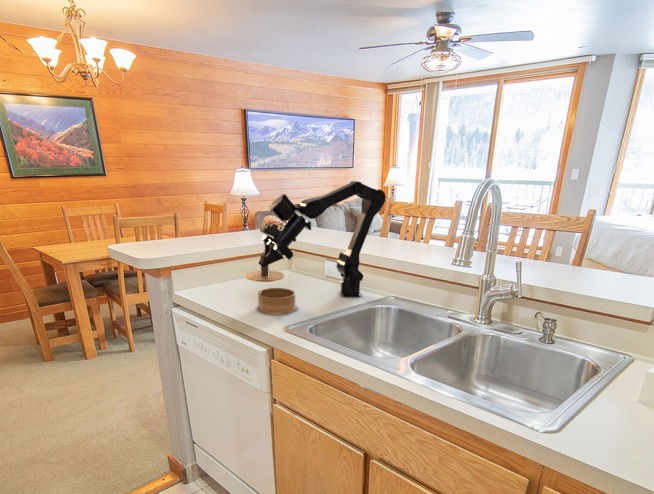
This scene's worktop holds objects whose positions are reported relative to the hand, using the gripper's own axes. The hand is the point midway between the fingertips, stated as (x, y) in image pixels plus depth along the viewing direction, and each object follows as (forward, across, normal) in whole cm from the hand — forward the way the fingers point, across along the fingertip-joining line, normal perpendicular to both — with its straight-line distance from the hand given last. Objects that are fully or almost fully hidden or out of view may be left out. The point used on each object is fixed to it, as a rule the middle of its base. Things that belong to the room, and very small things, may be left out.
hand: (260, 265), depth 150 cm
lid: (+2, 0, +4) cm, 4 cm away
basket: (+7, +8, +12) cm, 16 cm away
